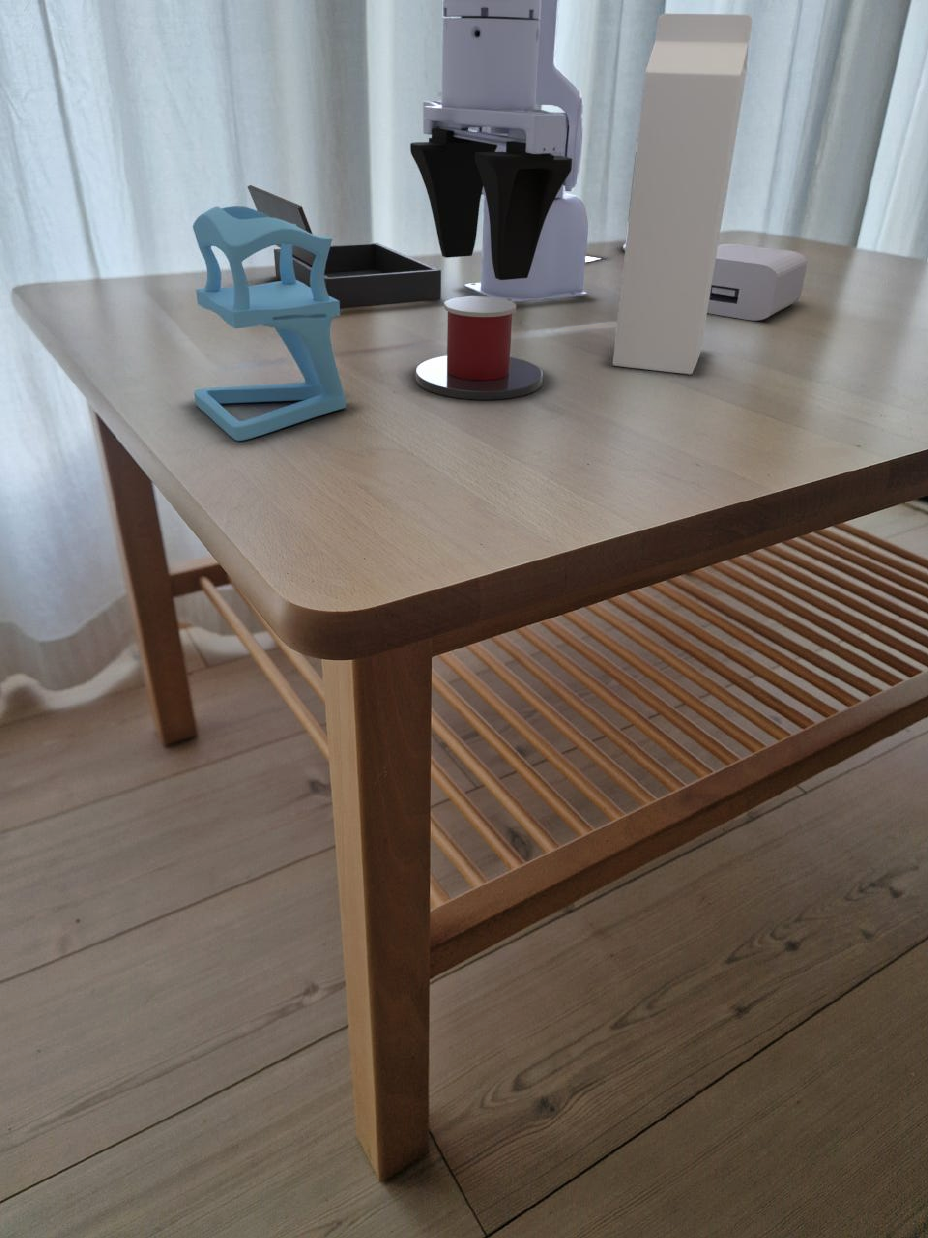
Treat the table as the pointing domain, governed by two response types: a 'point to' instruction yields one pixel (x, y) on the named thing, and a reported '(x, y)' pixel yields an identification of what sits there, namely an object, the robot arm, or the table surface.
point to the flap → (283, 216)
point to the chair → (270, 317)
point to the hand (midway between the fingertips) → (482, 266)
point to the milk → (680, 188)
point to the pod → (479, 337)
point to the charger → (755, 281)
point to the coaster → (515, 384)
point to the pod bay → (371, 276)
